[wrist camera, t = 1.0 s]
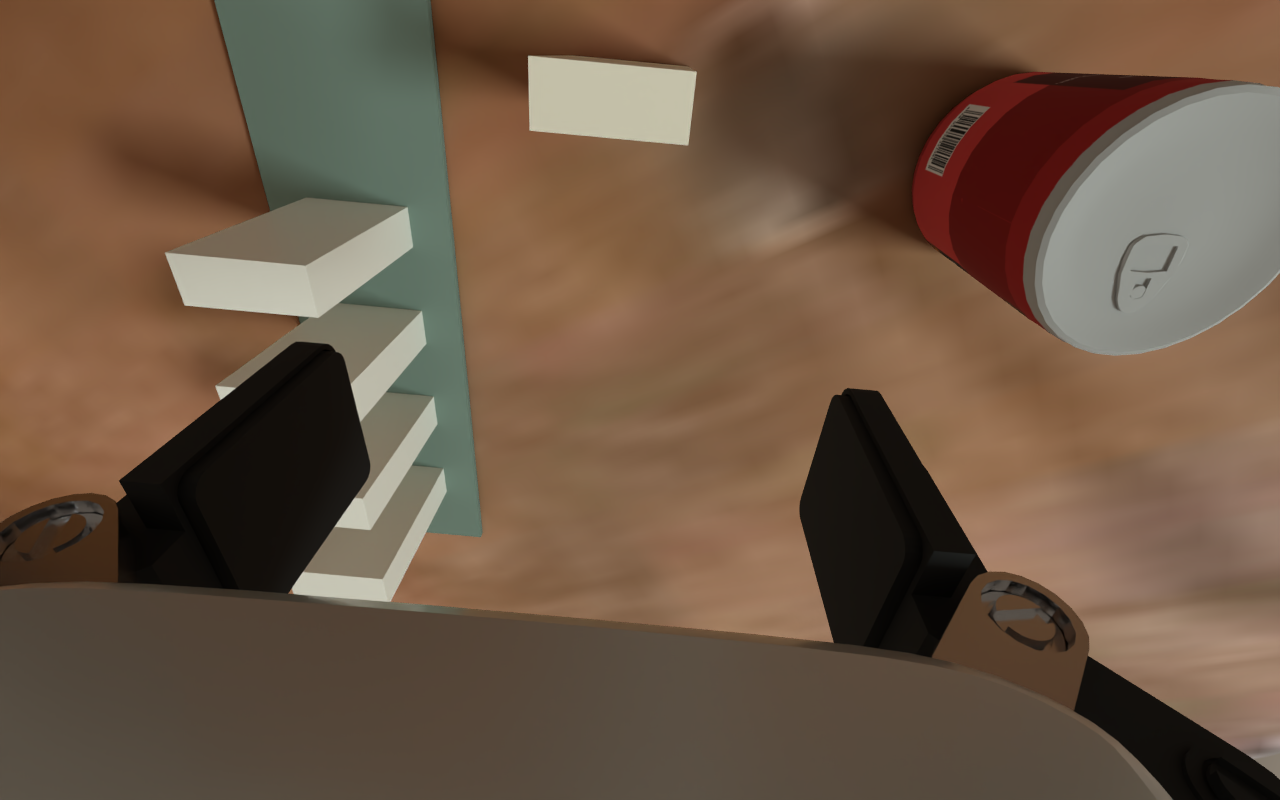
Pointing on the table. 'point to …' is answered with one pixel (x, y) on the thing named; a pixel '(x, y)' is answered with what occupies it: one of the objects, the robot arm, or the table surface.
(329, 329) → the domino
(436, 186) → the plate
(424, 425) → the domino
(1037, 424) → the table surface
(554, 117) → the domino
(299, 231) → the domino
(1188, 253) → the canned food
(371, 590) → the domino
